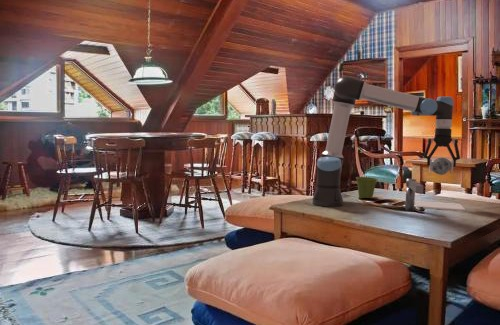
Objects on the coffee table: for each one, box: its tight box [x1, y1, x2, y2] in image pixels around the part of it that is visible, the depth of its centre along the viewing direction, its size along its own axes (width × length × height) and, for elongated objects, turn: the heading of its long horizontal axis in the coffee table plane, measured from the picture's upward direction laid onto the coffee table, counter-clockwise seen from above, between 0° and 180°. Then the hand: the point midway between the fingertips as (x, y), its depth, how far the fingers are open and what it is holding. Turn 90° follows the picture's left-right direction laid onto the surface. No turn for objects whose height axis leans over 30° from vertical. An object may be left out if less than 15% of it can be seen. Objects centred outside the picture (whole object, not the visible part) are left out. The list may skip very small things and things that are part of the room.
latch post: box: [404, 186, 416, 212], centre depth 215 cm, size 4×4×11 cm
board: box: [414, 200, 466, 212], centre depth 227 cm, size 22×17×1 cm
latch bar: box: [405, 178, 424, 194], centre depth 205 cm, size 24×4×4 cm, turn 169°
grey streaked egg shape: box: [431, 157, 451, 176], centre depth 226 cm, size 14×10×10 cm
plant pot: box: [355, 176, 379, 199], centre depth 248 cm, size 12×12×11 cm
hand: (440, 172), depth 226 cm, fingers closed on grey streaked egg shape, 9 cm apart
